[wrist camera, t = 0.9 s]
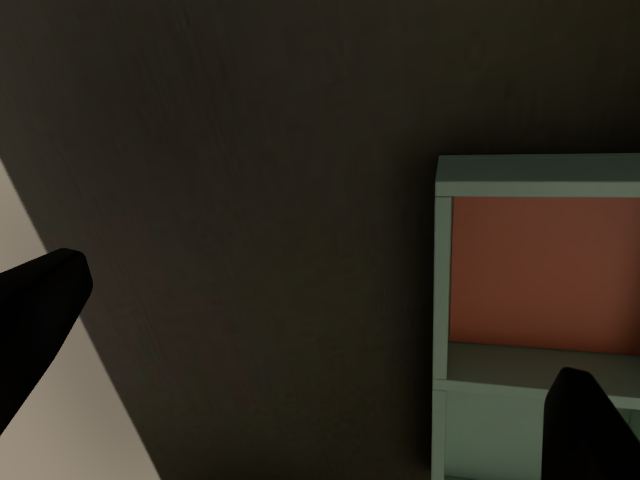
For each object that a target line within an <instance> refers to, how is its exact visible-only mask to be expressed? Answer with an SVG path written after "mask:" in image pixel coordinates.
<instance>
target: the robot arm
mask: <svg viewBox="0 0 640 480" xmlns="http://www.w3.org/2000/svg"><path fill="white" fill-rule="evenodd" d="M92 288H93V281H92V277H91V274H90V270H89V267H88V263H87V260H86V257H85V255H84V254H83V253H82V252H80V251H76V250H72V249H68V248H60V249H57V250H55V251H52V252H50V253H48V254H46V255H43V256H41V257H38V258H36V259H33V260H31V261H28V262H26V263H24V264H21V265H19V266H17V267H14V268H12V269H9V270H7V271H4V272H2V273H0V435H1V434H2V433H3V431H4V430H5V429H6V427H7V426H8V424H9V423H10V421H11V420H12V418H13V417H14V416H15V414H16V413H17V411H18V410H19V409H20V407H21V406H22V404H23V403H24V401H25V400H26V399H27V397H28V396H29V394H30V393H31V391H32V390H33V389H34V387H35V386H36V384H37V383H38V382H39V380H40V379H41V377H42V376H43V374H44V373H45V372H46V370H47V369H48V367H49V366H50V364H51V363H52V361H53V360H54V358H55V356H56V355H57V353H58V352H59V350H60V348H61V346H62V344H63V343H64V341H65V339H66V338H67V336H68V334H69V332H70V330H71V329H72V327H73V325H74V323H75V321H76V319H77V318H78V316H79V314H80V313H81V311H82V309H83V307H84V305H85V304H86V302H87V300H88V298H89V296H90V294H91V292H92ZM541 480H640V441H639V439H638V438H637V437H636V435H635V434H634V432H633V431H632V430H631V428H630V427H629V425H628V424H627V422H626V421H625V420H624V418H623V417H622V415H621V414H620V413H619V411H618V410H617V408H616V407H615V406H614V404H613V403H612V401H611V400H610V399H609V397H608V396H607V394H606V393H605V391H604V390H603V389H602V387H601V386H600V384H599V383H598V382H597V380H596V379H595V377H594V376H593V375H592V374H591V373H590V372H588V371H586V370H582V369H577V368H573V367H569V366H565V367H563V368H562V369H561V370H560V371H559V373H558V375H557V377H556V378H555V380H554V382H553V384H552V386H551V387H550V389H549V391H548V393H547V395H546V398H545V402H544V414H543V438H542V463H541Z"/></svg>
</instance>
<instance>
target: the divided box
mask: <svg viewBox="0 0 640 480" xmlns="http://www.w3.org/2000/svg"><path fill="white" fill-rule="evenodd" d="M565 366H569V367H573V368H577V369H582V370H586V371H588V372H590V373H591V374H592V375H593V376H594V377H595V379H596V380H597V382H598V383H599V384H600V386H601V387H602V389H603V390H604V391H605V393H606V394H607V396H608V397H609V399H610V400H611V401H612V403H613V404H614V406H615V407H616V408H617V410H618V411H619V413H620V414H621V415H622V417H623V418H624V420H625V421H626V422H627V424H628V425H629V427H630V428H631V430H632V431H633V432H634V434H635V435H636V437H637V438H638V439H639V441H640V153H599V154H513V155H440V156H439V158H438V165H437V172H436V179H435V220H434V298H433V375H432V377H433V379H432V452H431V480H541V463H542V438H543V414H544V402H545V398H546V395H547V393H548V391H549V389H550V387H551V386H552V384H553V382H554V380H555V378H556V377H557V375H558V373H559V371H560V370H561V369H562V368H563V367H565Z"/></svg>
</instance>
